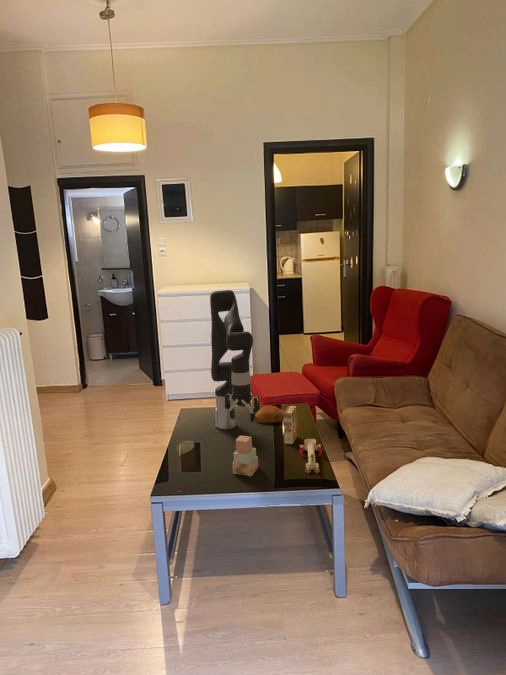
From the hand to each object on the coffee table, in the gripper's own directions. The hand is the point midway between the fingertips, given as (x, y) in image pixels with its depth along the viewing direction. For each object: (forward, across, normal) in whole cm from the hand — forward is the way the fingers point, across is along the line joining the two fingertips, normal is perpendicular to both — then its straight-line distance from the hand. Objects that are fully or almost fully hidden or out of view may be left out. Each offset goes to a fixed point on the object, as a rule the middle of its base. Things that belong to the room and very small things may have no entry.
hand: (242, 419), depth 198 cm
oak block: (+22, 0, 0) cm, 22 cm away
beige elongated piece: (+22, +23, +18) cm, 37 cm away
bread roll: (+23, -9, +54) cm, 60 cm away
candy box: (+22, +9, +33) cm, 41 cm away
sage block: (+17, 0, 0) cm, 17 cm away
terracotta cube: (+13, 0, 0) cm, 13 cm away
